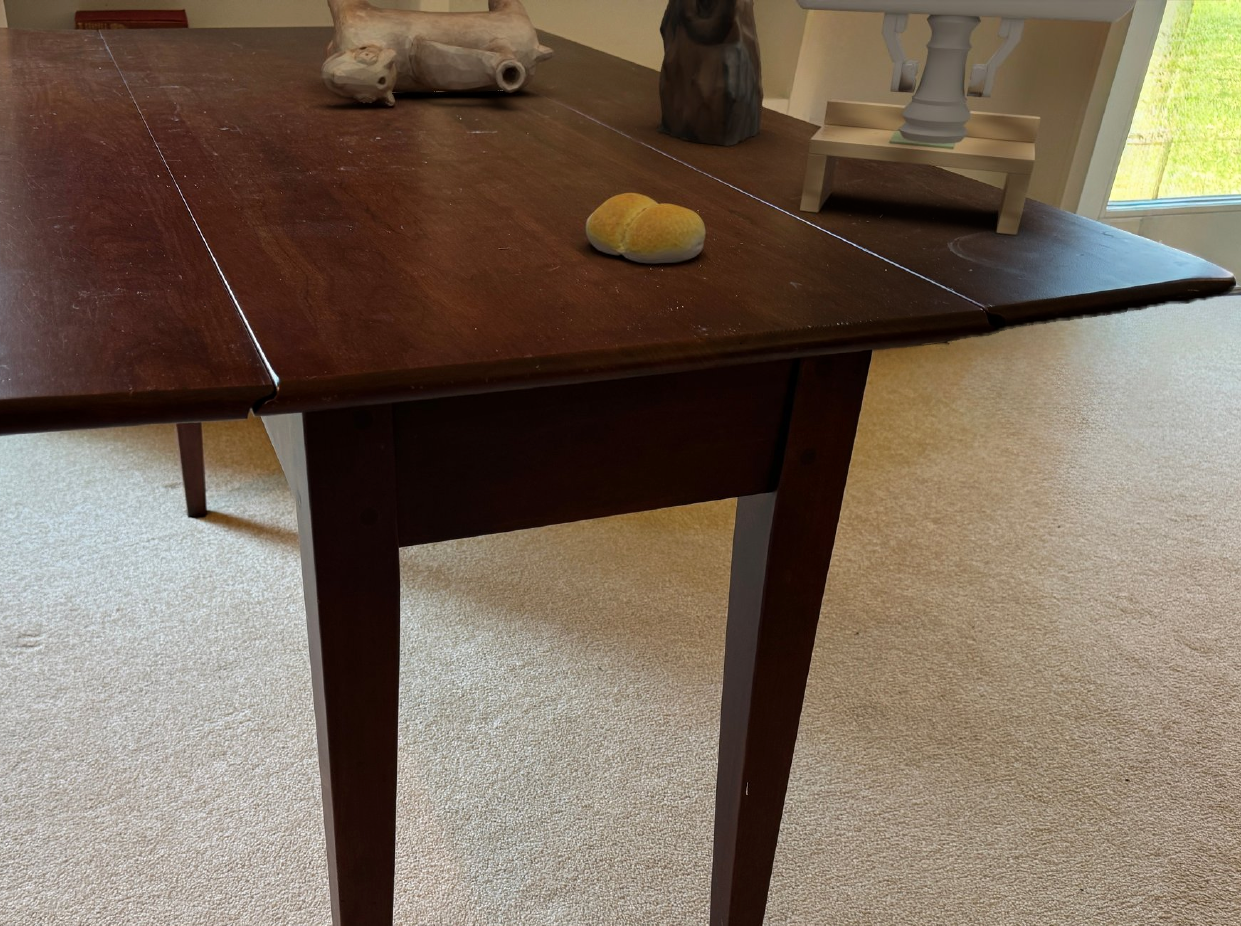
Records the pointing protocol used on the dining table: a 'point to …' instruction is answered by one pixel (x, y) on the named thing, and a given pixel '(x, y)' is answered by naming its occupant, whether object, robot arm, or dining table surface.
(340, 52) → the ceramic vessel
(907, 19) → the robot arm
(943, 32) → the rook chess piece
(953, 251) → the dining table surface
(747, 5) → the owl
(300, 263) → the dining table surface
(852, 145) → the bench
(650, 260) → the bread roll
